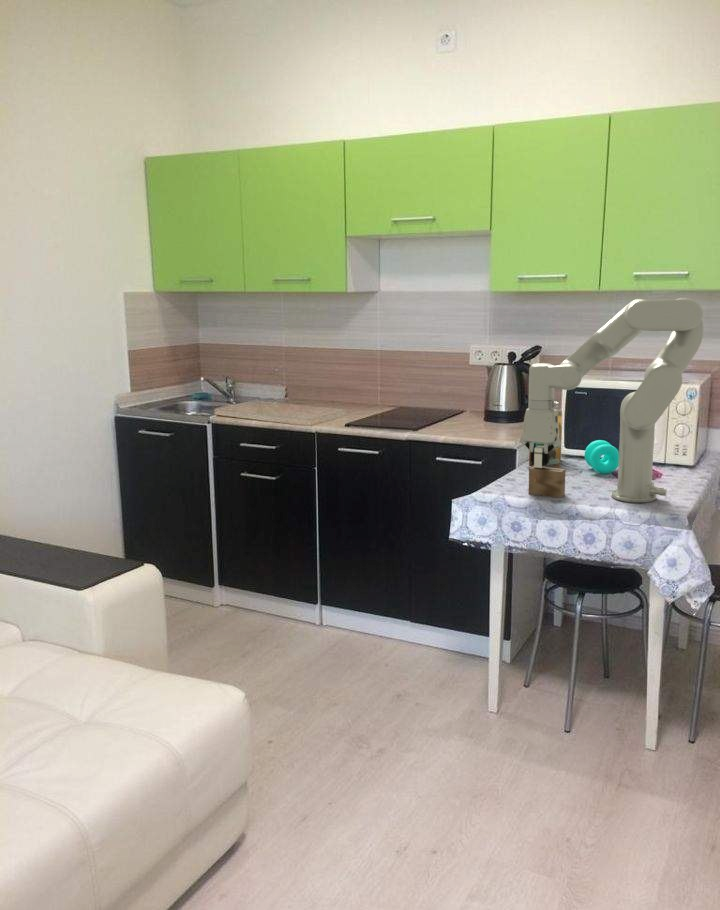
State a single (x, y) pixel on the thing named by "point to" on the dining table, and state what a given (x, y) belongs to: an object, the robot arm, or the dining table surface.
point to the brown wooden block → (547, 481)
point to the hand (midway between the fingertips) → (539, 464)
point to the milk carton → (555, 452)
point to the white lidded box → (538, 456)
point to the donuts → (609, 459)
